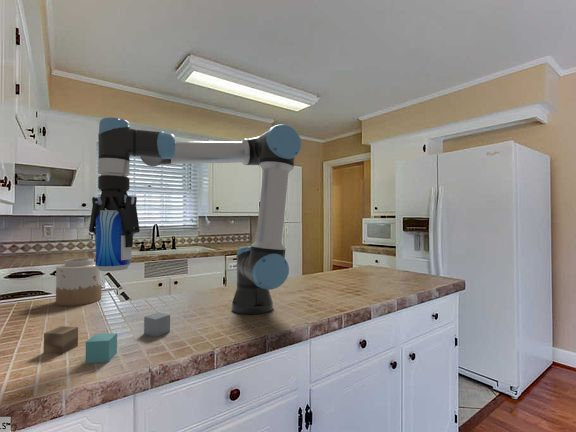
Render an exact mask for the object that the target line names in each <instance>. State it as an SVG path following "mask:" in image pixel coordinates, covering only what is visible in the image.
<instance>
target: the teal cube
mask: <svg viewBox="0 0 576 432" xmlns="http://www.w3.org/2000/svg"><path fill="white" fill-rule="evenodd" d="M117 353H118V333H117V332H111V333H95V334H94V335H92V336H91V337H90V338H88V339H87V340H86V341H85V364H95V363H96V364H98V363H109V362H111V360H112V359H113V358H114V357H115V356H116V355H117Z"/></svg>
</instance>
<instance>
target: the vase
mask: <svg viewBox="0 0 576 432" xmlns="http://www.w3.org/2000/svg"><path fill="white" fill-rule="evenodd" d="M55 272H56V273H55V304H56V306H59V307H60V306H61V307H72V306H73V307H75V306H84V305H88V304H93V303H97V302H99V301H100V300H101V299H102V285H103V283H102V281H103V279H102V278H103V277H102V276H103V275H102V272H103V271H99V269H98V268H97V267H96V262H95V259H94V258H91V257H89V258H88V257H87V258H86V257H84V258H83V257H82V258H80V257H79V258H69V259H65V260H64V264H59V265H58V266H56V269H55Z"/></svg>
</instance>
